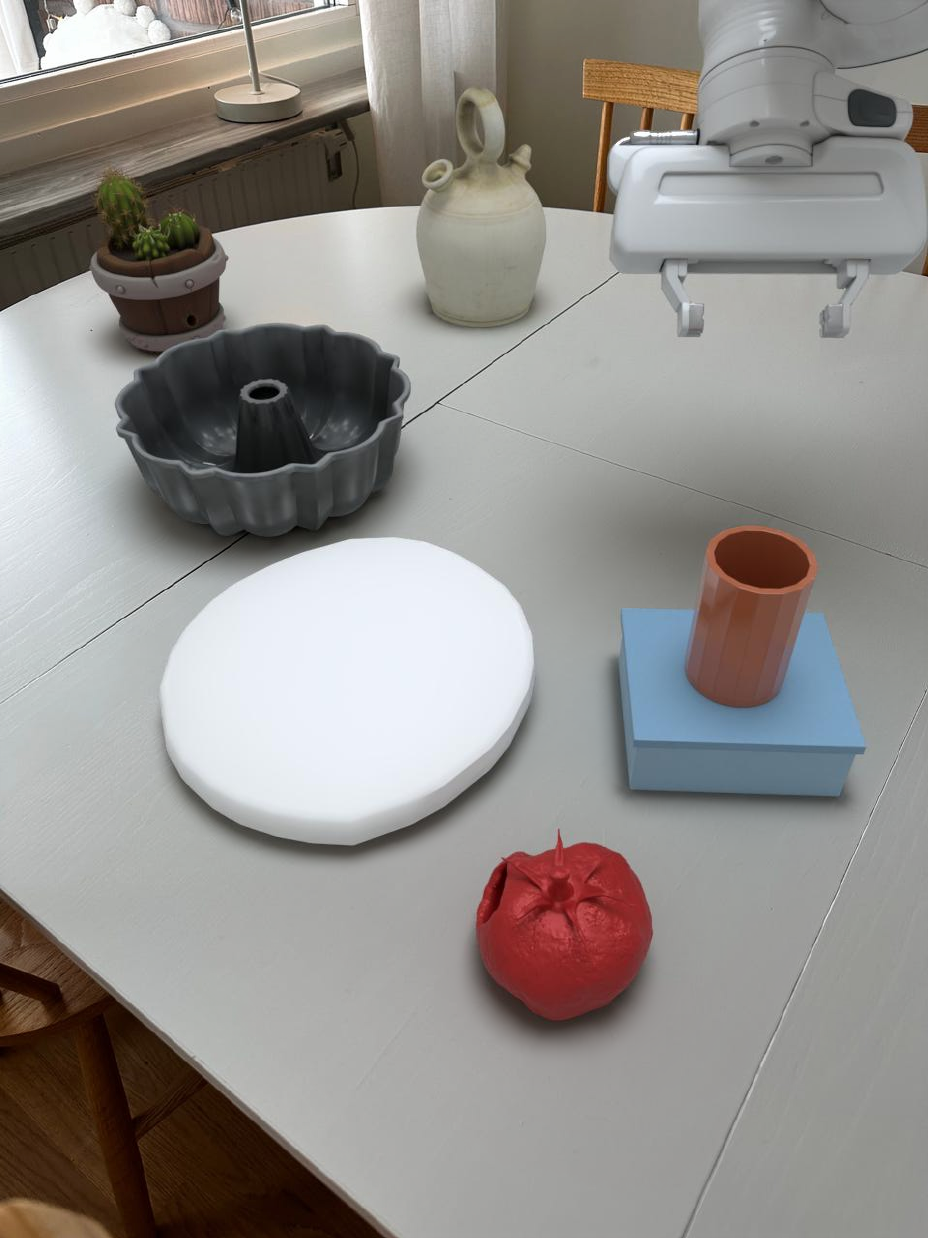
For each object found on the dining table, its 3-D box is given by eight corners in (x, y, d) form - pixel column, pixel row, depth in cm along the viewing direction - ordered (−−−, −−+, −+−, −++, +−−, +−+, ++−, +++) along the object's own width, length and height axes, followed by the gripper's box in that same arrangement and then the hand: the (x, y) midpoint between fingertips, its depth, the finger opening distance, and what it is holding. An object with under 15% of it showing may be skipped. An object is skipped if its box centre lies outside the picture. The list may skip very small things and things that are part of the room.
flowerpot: (264, 324, 119) (236, 150, 105) (183, 381, 109) (140, 196, 96) (171, 301, 124) (132, 132, 111) (85, 353, 114) (31, 175, 101)
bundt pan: (420, 560, 85) (415, 463, 79) (115, 577, 84) (83, 480, 78) (411, 404, 105) (406, 316, 98) (163, 416, 104) (141, 328, 97)
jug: (434, 344, 115) (426, 112, 98) (408, 289, 126) (397, 72, 109) (558, 328, 117) (571, 100, 100) (523, 276, 128) (529, 62, 111)
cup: (773, 639, 69) (805, 526, 62) (791, 709, 64) (828, 595, 57) (679, 637, 69) (700, 524, 62) (690, 706, 64) (714, 592, 58)
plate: (363, 890, 56) (67, 697, 68) (379, 939, 61) (100, 751, 72) (606, 588, 70) (328, 472, 82) (604, 647, 75) (341, 529, 87)
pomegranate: (679, 971, 57) (703, 884, 51) (545, 1073, 53) (553, 992, 47) (570, 854, 63) (579, 763, 57) (442, 937, 59) (437, 849, 53)
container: (805, 670, 75) (823, 612, 71) (843, 804, 66) (867, 747, 62) (613, 665, 76) (621, 607, 72) (624, 797, 66) (634, 739, 62)
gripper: (612, 104, 63) (608, 317, 62) (939, 102, 62) (938, 319, 61) (603, 154, 69) (599, 348, 68) (899, 154, 68) (898, 351, 67)
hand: (762, 335), depth 65 cm, fingers open, 8 cm apart
